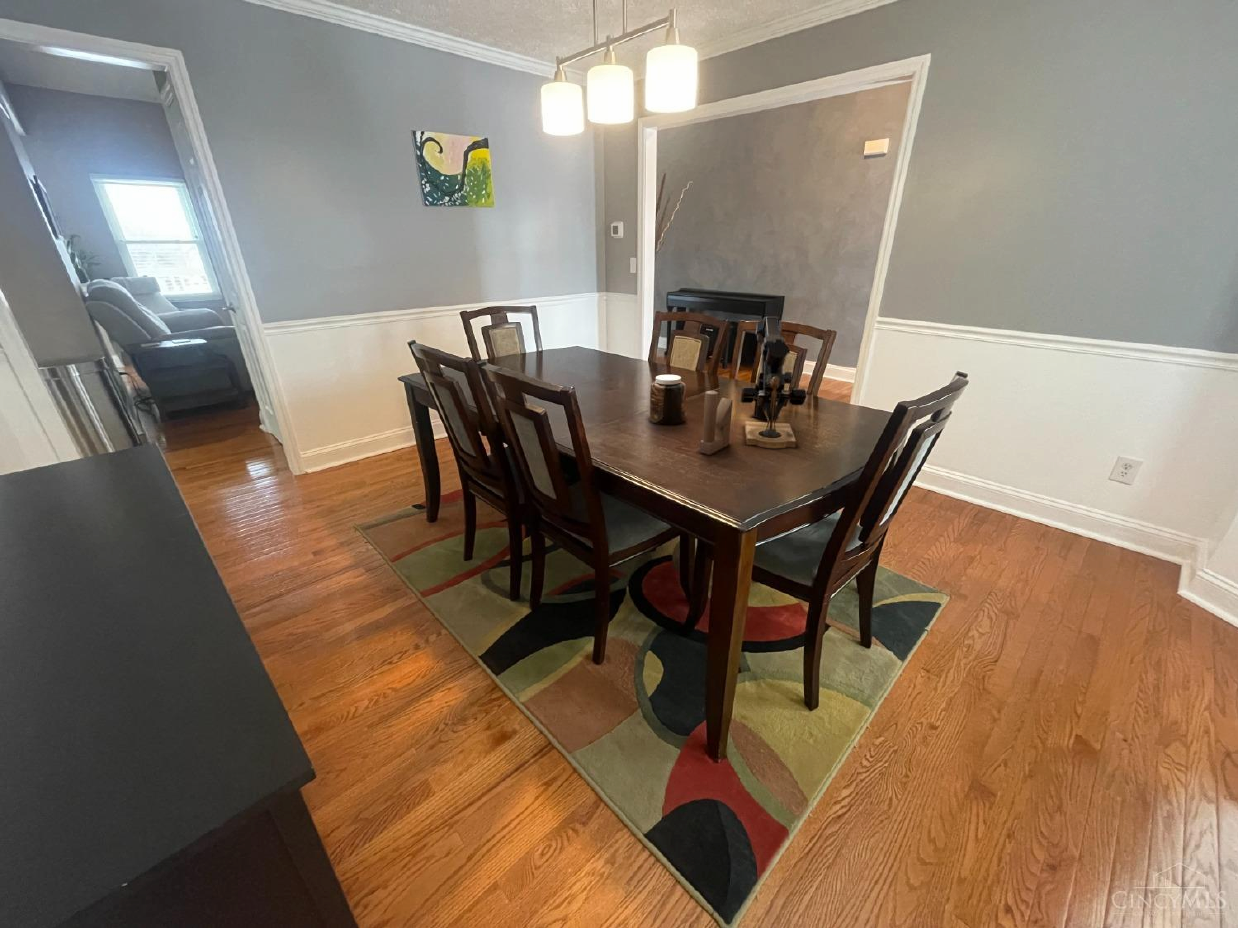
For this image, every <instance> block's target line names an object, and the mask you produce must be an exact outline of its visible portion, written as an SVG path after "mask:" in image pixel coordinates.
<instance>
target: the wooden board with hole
mask: <svg viewBox="0 0 1238 928" xmlns="http://www.w3.org/2000/svg"><path fill="white" fill-rule="evenodd" d="M767 424H768V422H761V421H745V422H744V433H745V440H746V445H747V446H757V447H759V448H765V449H784V448H796V444H797V440H796V438H795V435H794V432H793V430H792V429H793V428H792V427H791V424H790V423H782V422H775V428H776V432H777V435H778V438H765V437H762V434H763V432H764V431H765V430H766V427H767ZM769 427H770V422H769V425H768V428H769ZM768 428H767V429H768ZM772 428H773V429H774V422H773V425H772ZM774 430H775V429H774Z"/></svg>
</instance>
